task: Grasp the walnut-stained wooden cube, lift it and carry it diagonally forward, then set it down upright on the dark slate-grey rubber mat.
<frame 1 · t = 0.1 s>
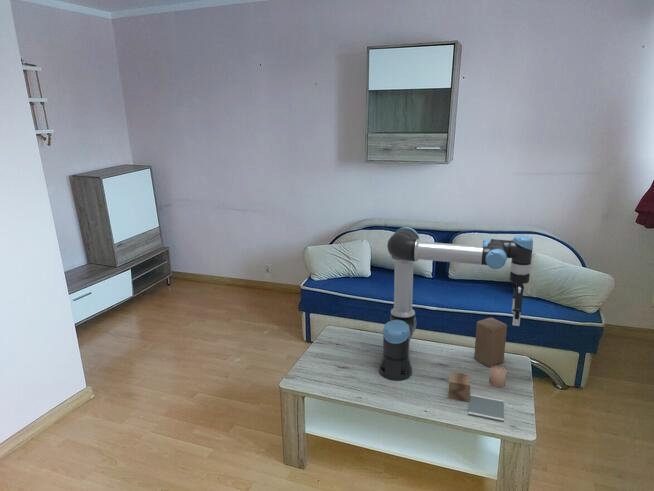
hand: (515, 318, 189), 28 cm above the table, fingers open, 13 cm apart
wooden block: (488, 361, 209), on the table
mat: (486, 408, 174), on the table
pink cylinder: (497, 383, 191), on the table
cube: (458, 395, 183), on the table
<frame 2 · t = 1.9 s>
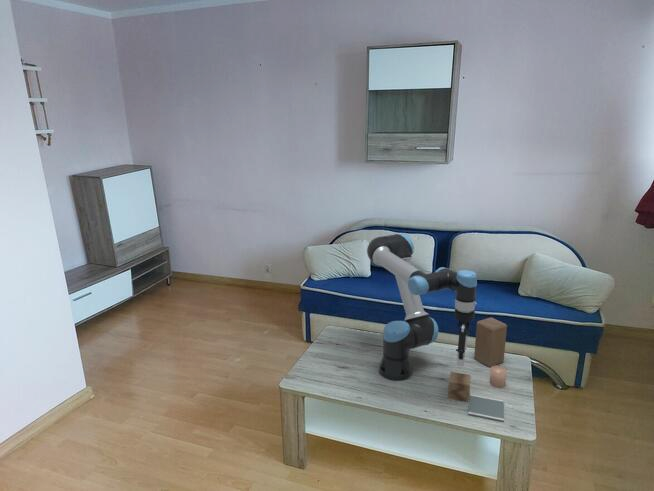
hand: (461, 357, 178), 18 cm above the table, fingers open, 13 cm apart
nothing on the table moved.
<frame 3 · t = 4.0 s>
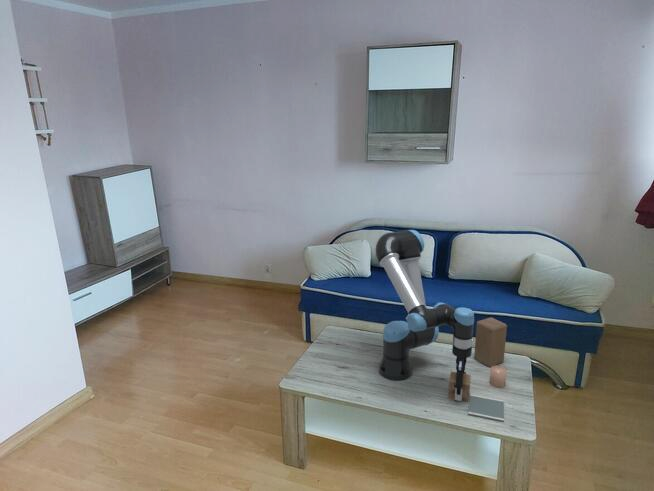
hand: (459, 394, 183), 0 cm above the table, fingers closed on cube, 8 cm apart
cube: (458, 394, 183), on the table, touching gripper
everything else where it was.
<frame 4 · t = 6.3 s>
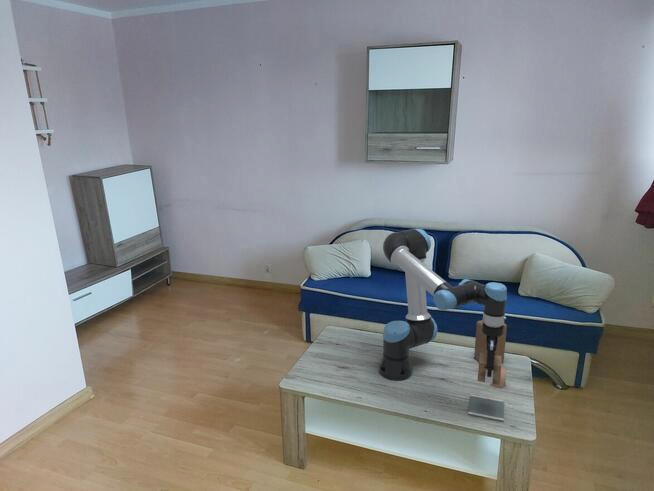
hand: (488, 376, 170), 14 cm above the table, fingers closed on cube, 8 cm apart
cube: (488, 377, 170), point 14 cm above the table, touching gripper
everything else where it was.
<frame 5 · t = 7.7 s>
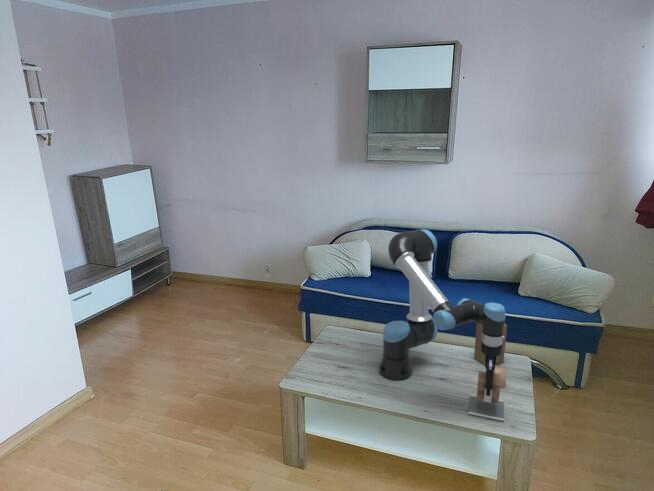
hand: (487, 395, 172), 6 cm above the table, fingers closed on cube, 8 cm apart
cube: (487, 395, 172), point 6 cm above the table, touching gripper
everything else where it was.
when the fingers open (2 cm above the table, at t = 8.9 s): cube drops 1 cm, resting on mat.
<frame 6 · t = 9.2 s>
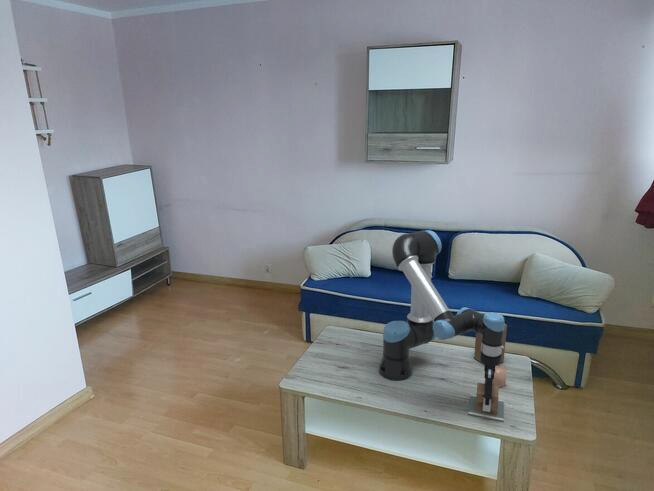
hand: (486, 401, 173), 3 cm above the table, fingers open, 11 cm apart
cube: (486, 407, 174), point 1 cm above the table, touching mat
everything else where it was.
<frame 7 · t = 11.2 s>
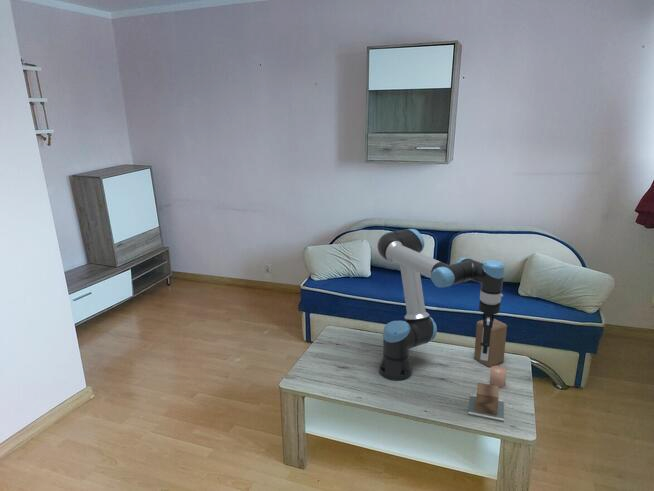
hand: (484, 351, 171), 24 cm above the table, fingers open, 13 cm apart
nothing on the table moved.
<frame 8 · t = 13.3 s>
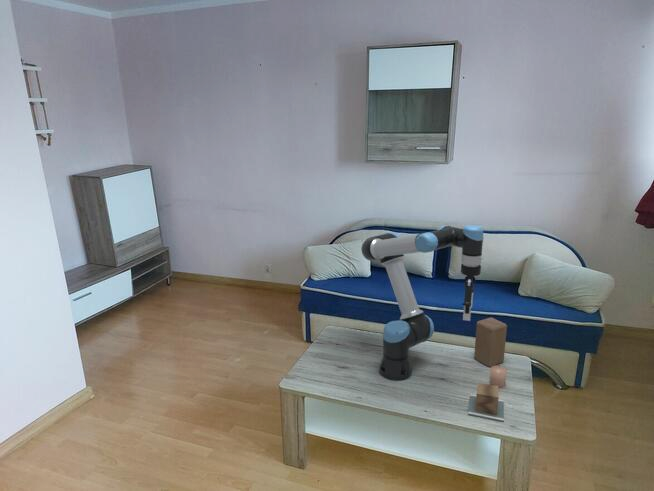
hand: (467, 313, 179), 35 cm above the table, fingers open, 13 cm apart
nothing on the table moved.
at the end: cube inside the target area on the mat (0.0 cm from its centre), point 0.6 cm above the mat's base; cube tilted 0°; the gripper is holding nothing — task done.
